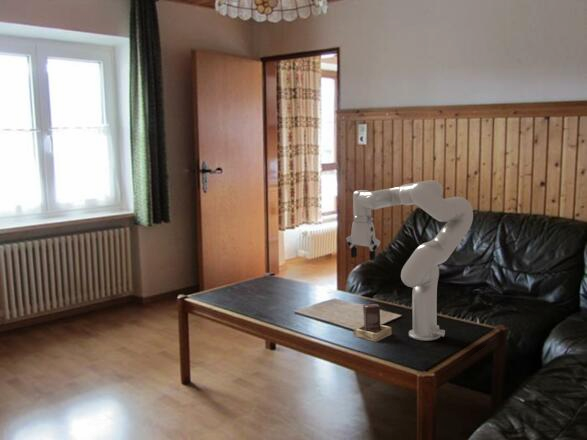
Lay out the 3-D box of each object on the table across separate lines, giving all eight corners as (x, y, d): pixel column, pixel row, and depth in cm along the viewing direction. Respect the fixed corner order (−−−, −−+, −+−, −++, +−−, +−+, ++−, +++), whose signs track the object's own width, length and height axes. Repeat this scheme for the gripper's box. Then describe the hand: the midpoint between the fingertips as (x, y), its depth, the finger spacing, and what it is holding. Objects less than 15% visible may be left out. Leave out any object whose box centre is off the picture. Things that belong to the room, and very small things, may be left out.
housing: (391, 334, 248) (391, 327, 248) (376, 341, 240) (375, 334, 240) (369, 328, 256) (369, 322, 255) (353, 336, 248) (353, 329, 247)
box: (377, 331, 251) (377, 303, 249) (380, 334, 246) (380, 306, 244) (363, 332, 250) (362, 304, 248) (366, 336, 245) (365, 307, 244)
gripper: (384, 219, 255) (384, 259, 258) (351, 216, 267) (352, 254, 270) (374, 222, 250) (374, 262, 252) (340, 218, 262) (341, 257, 264)
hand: (363, 258), depth 261 cm, fingers open, 9 cm apart
